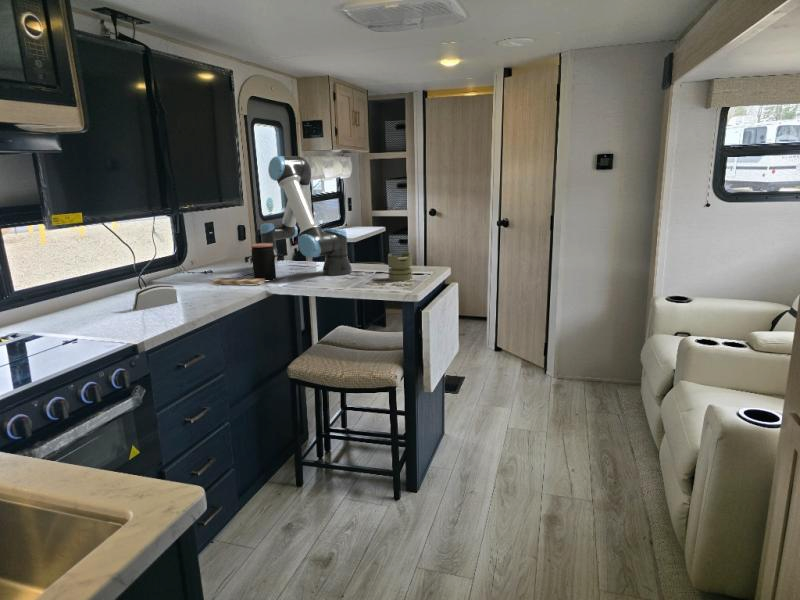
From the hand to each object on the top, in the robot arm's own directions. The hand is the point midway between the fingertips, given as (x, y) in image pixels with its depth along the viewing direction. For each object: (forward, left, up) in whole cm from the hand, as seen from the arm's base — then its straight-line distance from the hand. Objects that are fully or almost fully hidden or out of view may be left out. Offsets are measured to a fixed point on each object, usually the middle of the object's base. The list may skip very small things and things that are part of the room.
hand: (262, 261), depth 259 cm
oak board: (+10, +6, -10) cm, 16 cm away
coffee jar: (+1, -3, -10) cm, 11 cm away
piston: (-67, -10, -10) cm, 68 cm away
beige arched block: (+22, +52, -10) cm, 58 cm away
